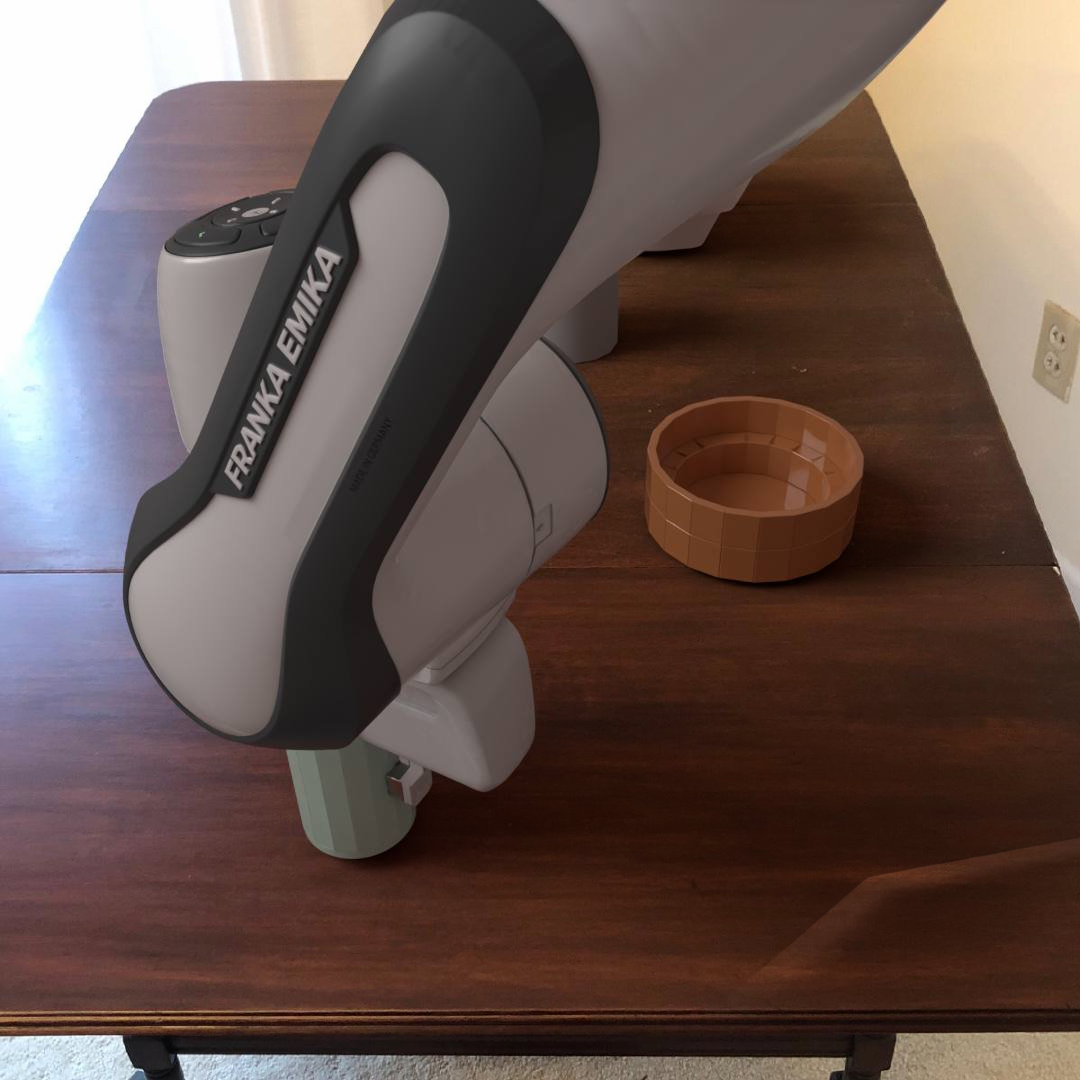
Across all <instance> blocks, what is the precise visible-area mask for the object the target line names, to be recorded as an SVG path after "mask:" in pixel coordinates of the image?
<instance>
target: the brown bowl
mask: <svg viewBox="0 0 1080 1080" xmlns="http://www.w3.org/2000/svg"><path fill="white" fill-rule="evenodd" d="M864 465H865V456H864V453H863V451H862V449H861V447H860V445H859V443H858V441H857V439H856V437H855V436H854V435H853V434H852V433H850V432H849V431H848V430H847V429H846V428H845V427H844V426H842V425H841V424H840V423H839V422H838V421H837V420H836V419H834V418H832V417H830V416H828V415H826V414H824V413H822V412H820V411H818V410H816V409H814V408H812V407H809V406H807V405H806V406H805V405H803V404H799V403H795V402H792V401H788V400H785V399H781V398H774V397H773V398H772V397H763V396H754V395H741V396H740V395H737V396H719V397H716V398H711V399H707V400H703V401H698V402H694V403H691V404H688V405H686V406H684V407H682V408H680V409H678V410H677V411H674V412H672V413H670V414H668V415H667V416H666V417H665V418H664V419H663V420H662V421H661V422H660V423H659V424H658V425H657V426H656V427H655V428H654V429H652V432H651V436H650V439H649V442H648V445H647V447H646V465H645V466H646V467H645V468H646V469H645V488H644V489H645V490H644V511H643V512H644V518H645V521H646V526H647V531H648V532H649V534H650V535H651V536H652V538H653V539H654V540H655V542H656V543H657V544H658V545H659V547H660V548H661V549H662V550H663V551H664V552H665V553H667V554H668V555H670V556H671V557H673V558H674V559H676V561H679V562H680V563H681V564H683V565H685V566H686V567H688V568H690V569H693V570H695V571H698V572H702V573H704V574H706V575H710V576H712V577H715V578H719V579H725V580H732V581H738V582H746V583H754V584H757V583H773V582H774V583H775V582H787V581H791V580H794V579H798V578H802V577H805V576H807V575H811V574H815V573H817V572H819V571H821V570H823V569H824V568H826V567H827V566H829V565H830V564H832V563H834V562H835V561H837V560H838V559H839V558H840V557H841V556H842V554H843V553H844V551H845V550H846V548H847V547H848V545H849V544H850V542H851V541H852V537H853V533H854V528H855V527H854V526H855V523H856V522H855V521H856V515H857V510H858V505H859V498H860V494H861V488H862V482H863V477H864Z"/></svg>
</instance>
